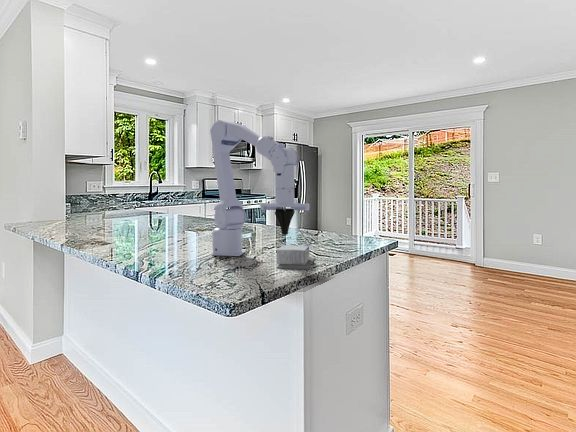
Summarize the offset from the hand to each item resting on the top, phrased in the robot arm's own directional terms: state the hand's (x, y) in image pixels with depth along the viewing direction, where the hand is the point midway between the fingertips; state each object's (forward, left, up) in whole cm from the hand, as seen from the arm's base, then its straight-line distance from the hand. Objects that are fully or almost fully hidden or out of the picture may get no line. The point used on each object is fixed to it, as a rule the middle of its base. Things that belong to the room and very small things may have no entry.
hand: (285, 234), depth 110 cm
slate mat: (+4, 0, -9) cm, 9 cm away
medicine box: (-2, 0, -6) cm, 6 cm away
